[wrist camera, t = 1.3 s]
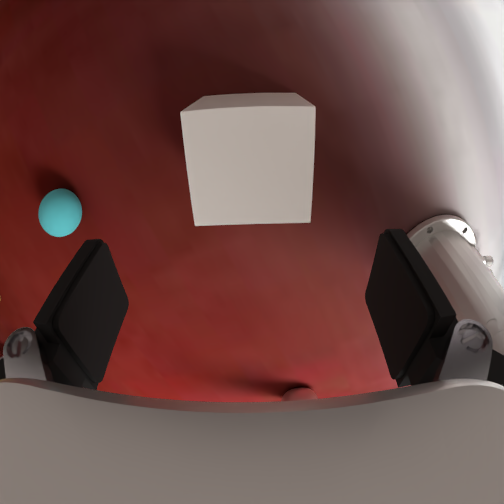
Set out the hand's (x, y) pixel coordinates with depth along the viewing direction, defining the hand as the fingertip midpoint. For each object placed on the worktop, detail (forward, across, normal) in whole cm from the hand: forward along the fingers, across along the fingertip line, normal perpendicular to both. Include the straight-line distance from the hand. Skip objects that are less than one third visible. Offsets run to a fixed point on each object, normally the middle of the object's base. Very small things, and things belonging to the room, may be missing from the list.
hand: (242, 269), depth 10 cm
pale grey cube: (+18, 0, 0) cm, 18 cm away
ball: (+16, +20, +5) cm, 26 cm away
